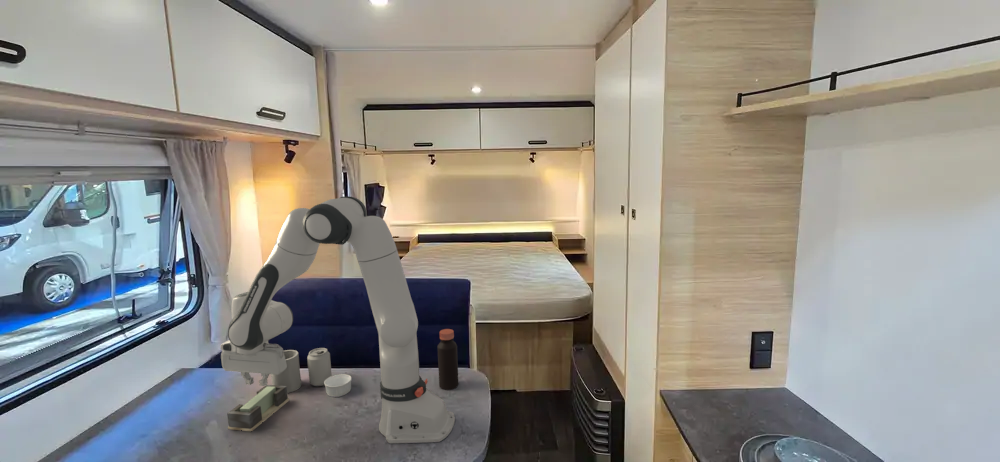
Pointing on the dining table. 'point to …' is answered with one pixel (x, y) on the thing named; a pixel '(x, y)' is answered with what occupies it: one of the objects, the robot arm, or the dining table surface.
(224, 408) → the dining table surface
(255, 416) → the grey and cream cradle
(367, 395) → the dining table surface
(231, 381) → the dining table surface
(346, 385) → the ramekin
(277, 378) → the cup
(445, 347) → the bottle
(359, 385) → the dining table surface
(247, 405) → the slat
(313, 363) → the can
